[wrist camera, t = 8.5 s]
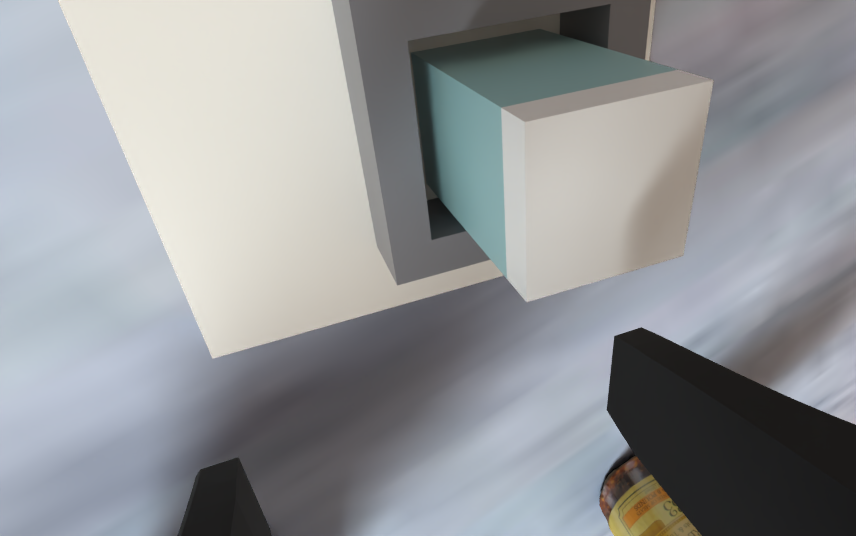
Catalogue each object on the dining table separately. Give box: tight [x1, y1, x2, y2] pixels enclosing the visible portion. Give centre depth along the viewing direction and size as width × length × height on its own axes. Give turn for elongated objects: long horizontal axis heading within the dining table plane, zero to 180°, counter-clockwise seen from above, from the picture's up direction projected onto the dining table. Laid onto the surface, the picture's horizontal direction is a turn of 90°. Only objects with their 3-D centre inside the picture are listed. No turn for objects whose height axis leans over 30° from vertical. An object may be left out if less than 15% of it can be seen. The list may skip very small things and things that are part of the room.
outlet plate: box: [58, 0, 656, 359], centre depth 16 cm, size 11×16×4 cm
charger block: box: [411, 29, 714, 302], centre depth 14 cm, size 4×4×7 cm
